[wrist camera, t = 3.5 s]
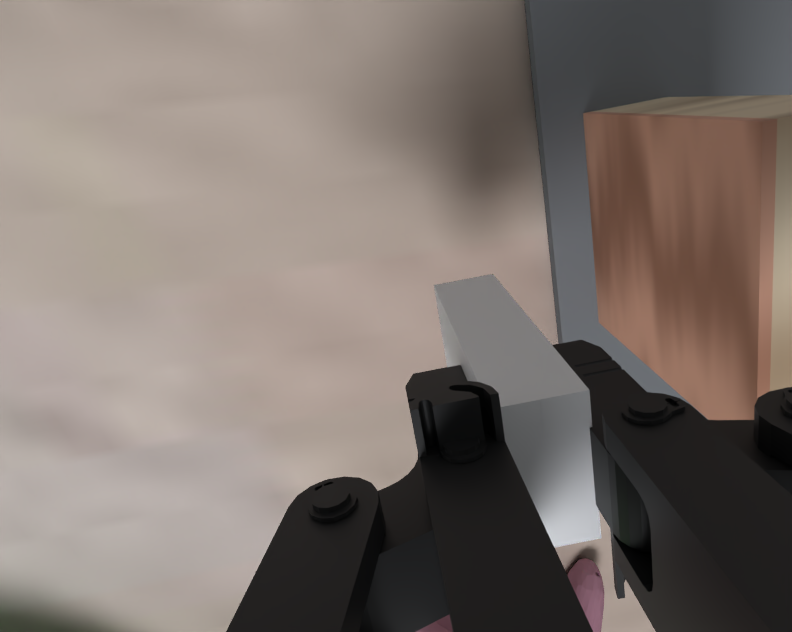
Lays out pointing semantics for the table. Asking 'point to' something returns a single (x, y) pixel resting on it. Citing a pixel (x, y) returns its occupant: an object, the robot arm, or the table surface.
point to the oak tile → (697, 242)
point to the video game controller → (584, 584)
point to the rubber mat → (626, 84)
